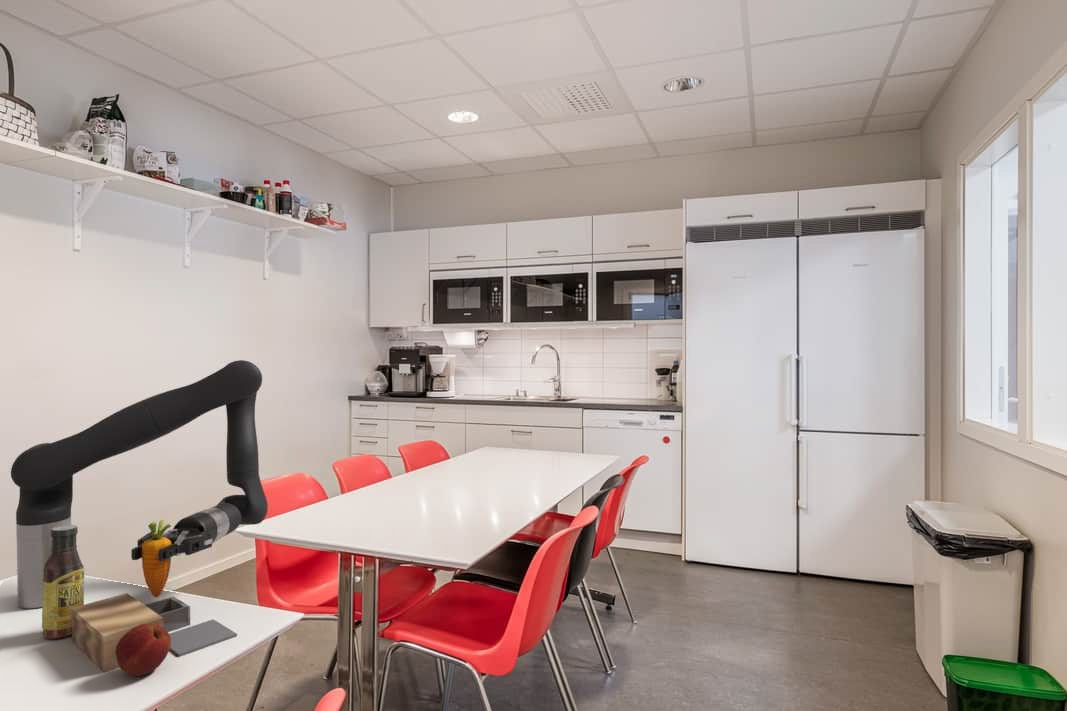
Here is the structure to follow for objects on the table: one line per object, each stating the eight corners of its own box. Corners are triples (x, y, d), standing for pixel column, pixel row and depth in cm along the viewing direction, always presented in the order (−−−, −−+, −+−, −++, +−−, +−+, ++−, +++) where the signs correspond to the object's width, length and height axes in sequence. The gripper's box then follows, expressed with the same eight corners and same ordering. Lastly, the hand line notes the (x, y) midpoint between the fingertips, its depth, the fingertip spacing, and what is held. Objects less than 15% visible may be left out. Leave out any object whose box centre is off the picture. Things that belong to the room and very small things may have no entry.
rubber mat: (157, 639, 115) (156, 637, 115) (213, 621, 122) (213, 619, 122) (179, 656, 108) (179, 654, 108) (237, 635, 116) (237, 633, 116)
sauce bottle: (61, 642, 114) (59, 533, 114) (33, 639, 115) (31, 532, 115) (93, 626, 121) (91, 523, 120) (66, 624, 122) (64, 522, 122)
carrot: (159, 590, 124) (159, 515, 123) (177, 594, 122) (177, 518, 122) (135, 600, 119) (135, 521, 119) (153, 604, 117) (153, 524, 117)
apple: (148, 685, 99) (147, 635, 99) (103, 683, 100) (102, 633, 100) (179, 662, 106) (178, 615, 106) (136, 660, 107) (136, 614, 107)
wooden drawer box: (71, 640, 115) (71, 608, 115) (169, 611, 127) (169, 581, 127) (104, 672, 103) (103, 636, 103) (208, 636, 116) (207, 604, 116)
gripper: (170, 510, 135) (110, 534, 118) (234, 512, 134) (183, 536, 117) (170, 545, 135) (111, 573, 118) (234, 547, 134) (183, 576, 117)
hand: (147, 555), depth 118 cm, fingers closed on carrot, 4 cm apart
